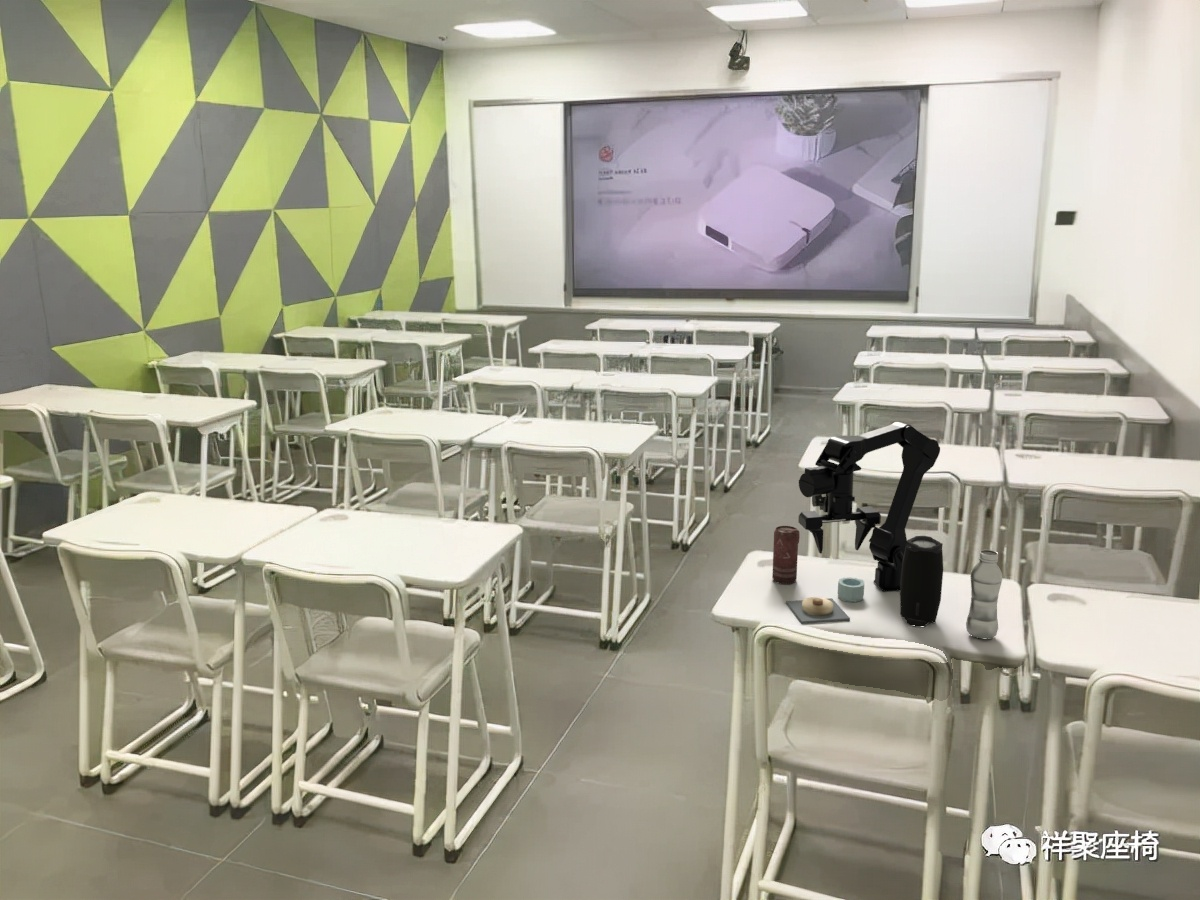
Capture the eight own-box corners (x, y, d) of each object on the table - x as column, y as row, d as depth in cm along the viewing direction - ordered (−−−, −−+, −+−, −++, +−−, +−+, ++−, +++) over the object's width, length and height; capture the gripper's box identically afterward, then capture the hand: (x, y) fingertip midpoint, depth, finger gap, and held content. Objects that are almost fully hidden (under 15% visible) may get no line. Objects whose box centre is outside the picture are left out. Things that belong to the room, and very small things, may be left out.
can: (799, 584, 241) (801, 532, 237) (774, 584, 241) (776, 532, 237) (795, 575, 247) (797, 524, 243) (770, 575, 247) (772, 524, 243)
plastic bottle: (994, 645, 207) (1003, 560, 202) (961, 638, 210) (969, 554, 205) (999, 634, 212) (1008, 550, 207) (967, 627, 215) (975, 545, 210)
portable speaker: (909, 609, 226) (915, 531, 221) (946, 621, 219) (953, 541, 214) (890, 619, 220) (896, 540, 215) (927, 632, 213) (934, 551, 208)
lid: (826, 602, 228) (827, 593, 228) (837, 614, 221) (837, 605, 221) (797, 604, 228) (798, 595, 227) (807, 616, 221) (808, 607, 220)
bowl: (857, 591, 236) (858, 576, 235) (867, 601, 230) (868, 586, 229) (834, 593, 235) (834, 578, 234) (843, 603, 229) (844, 587, 228)
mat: (831, 600, 231) (832, 598, 231) (849, 620, 220) (850, 618, 220) (785, 603, 230) (786, 601, 229) (801, 623, 218) (801, 621, 218)
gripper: (864, 477, 233) (861, 536, 237) (791, 483, 231) (790, 542, 235) (883, 490, 223) (880, 552, 227) (807, 497, 220) (805, 559, 224)
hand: (838, 551), depth 228 cm, fingers open, 9 cm apart
